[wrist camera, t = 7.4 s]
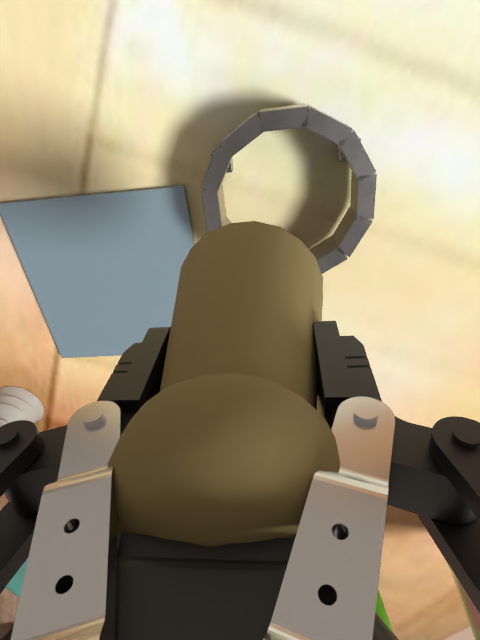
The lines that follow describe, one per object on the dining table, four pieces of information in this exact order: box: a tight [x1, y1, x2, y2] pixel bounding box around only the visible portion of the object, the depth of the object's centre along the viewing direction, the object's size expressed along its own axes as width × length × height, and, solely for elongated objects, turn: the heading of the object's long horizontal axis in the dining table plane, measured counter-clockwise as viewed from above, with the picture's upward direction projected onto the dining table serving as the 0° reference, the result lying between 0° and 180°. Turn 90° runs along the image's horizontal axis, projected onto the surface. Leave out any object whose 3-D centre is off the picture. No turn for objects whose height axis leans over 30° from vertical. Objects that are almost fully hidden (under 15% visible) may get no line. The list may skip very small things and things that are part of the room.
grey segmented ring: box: [201, 104, 377, 274], centre depth 26 cm, size 10×10×4 cm
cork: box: [107, 221, 340, 548], centre depth 12 cm, size 6×6×11 cm
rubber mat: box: [0, 185, 195, 358], centre depth 32 cm, size 14×14×1 cm
